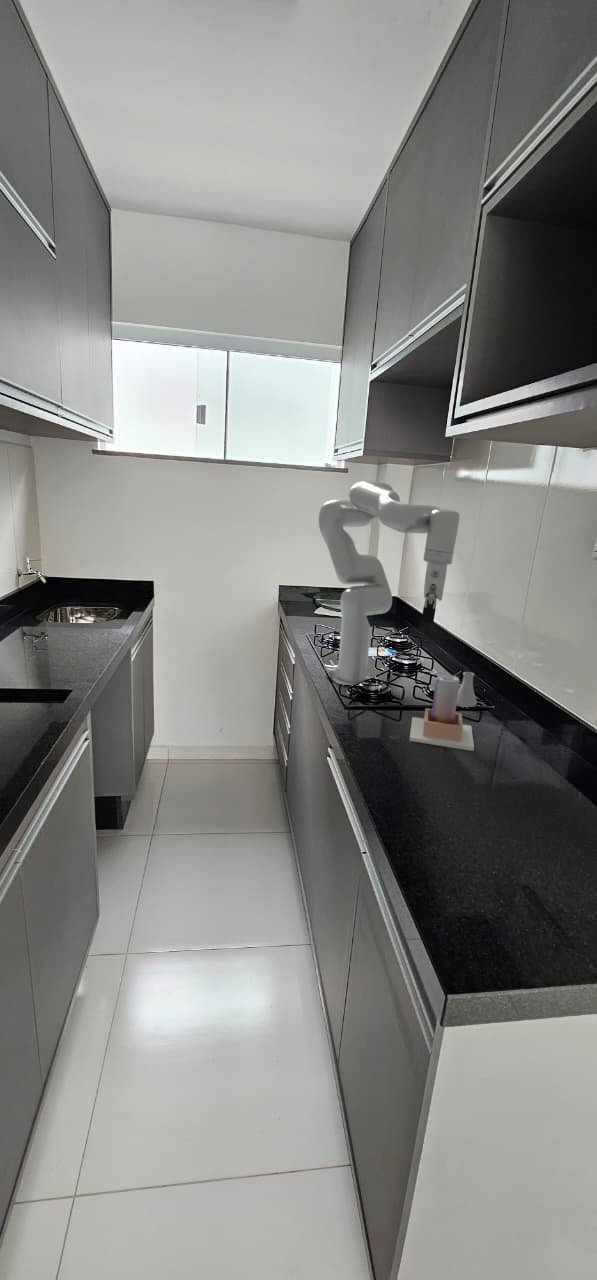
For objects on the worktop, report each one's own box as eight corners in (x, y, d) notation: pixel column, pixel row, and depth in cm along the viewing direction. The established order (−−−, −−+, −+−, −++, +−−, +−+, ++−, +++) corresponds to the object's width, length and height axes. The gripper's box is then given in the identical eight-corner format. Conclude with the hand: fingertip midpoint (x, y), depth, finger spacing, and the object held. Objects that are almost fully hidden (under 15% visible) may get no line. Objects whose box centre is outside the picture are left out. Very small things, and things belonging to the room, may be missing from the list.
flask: (461, 698, 183) (465, 668, 180) (481, 706, 177) (486, 675, 175) (447, 702, 178) (451, 671, 175) (467, 710, 173) (472, 679, 170)
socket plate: (409, 740, 150) (411, 722, 148) (411, 720, 163) (414, 703, 162) (473, 750, 146) (476, 732, 145) (470, 729, 160) (473, 712, 158)
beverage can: (425, 727, 156) (431, 675, 152) (442, 725, 158) (450, 673, 154) (438, 737, 151) (446, 682, 147) (457, 734, 153) (465, 680, 149)
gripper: (452, 563, 147) (441, 627, 152) (452, 553, 163) (442, 612, 168) (422, 559, 148) (412, 623, 154) (425, 550, 164) (416, 608, 170)
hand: (428, 617), depth 161 cm, fingers open, 9 cm apart
